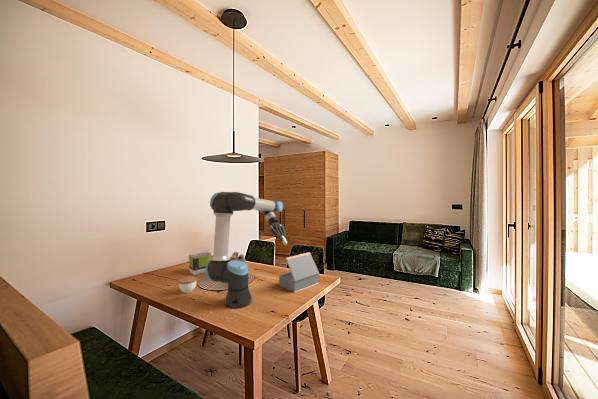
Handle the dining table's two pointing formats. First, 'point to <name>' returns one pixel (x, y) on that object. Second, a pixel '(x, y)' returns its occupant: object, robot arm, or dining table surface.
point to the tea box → (198, 262)
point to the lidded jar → (187, 284)
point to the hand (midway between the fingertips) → (285, 244)
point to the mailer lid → (302, 266)
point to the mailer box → (297, 282)
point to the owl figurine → (235, 257)
